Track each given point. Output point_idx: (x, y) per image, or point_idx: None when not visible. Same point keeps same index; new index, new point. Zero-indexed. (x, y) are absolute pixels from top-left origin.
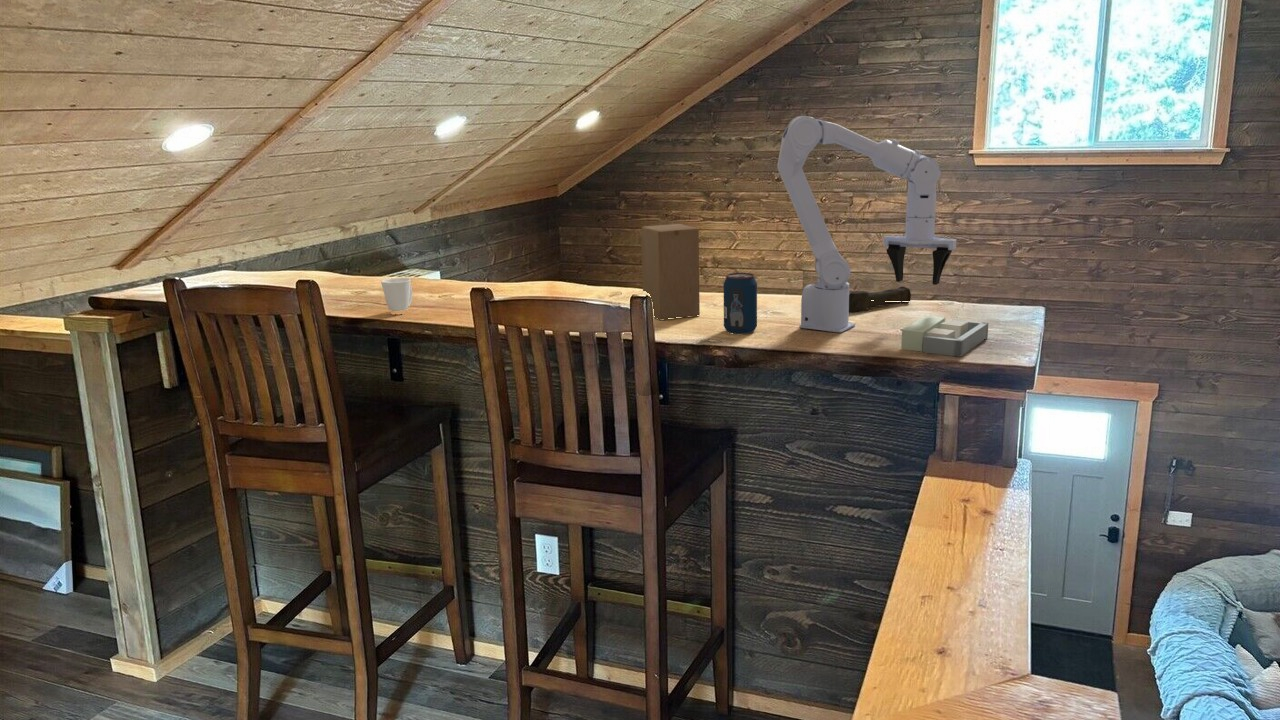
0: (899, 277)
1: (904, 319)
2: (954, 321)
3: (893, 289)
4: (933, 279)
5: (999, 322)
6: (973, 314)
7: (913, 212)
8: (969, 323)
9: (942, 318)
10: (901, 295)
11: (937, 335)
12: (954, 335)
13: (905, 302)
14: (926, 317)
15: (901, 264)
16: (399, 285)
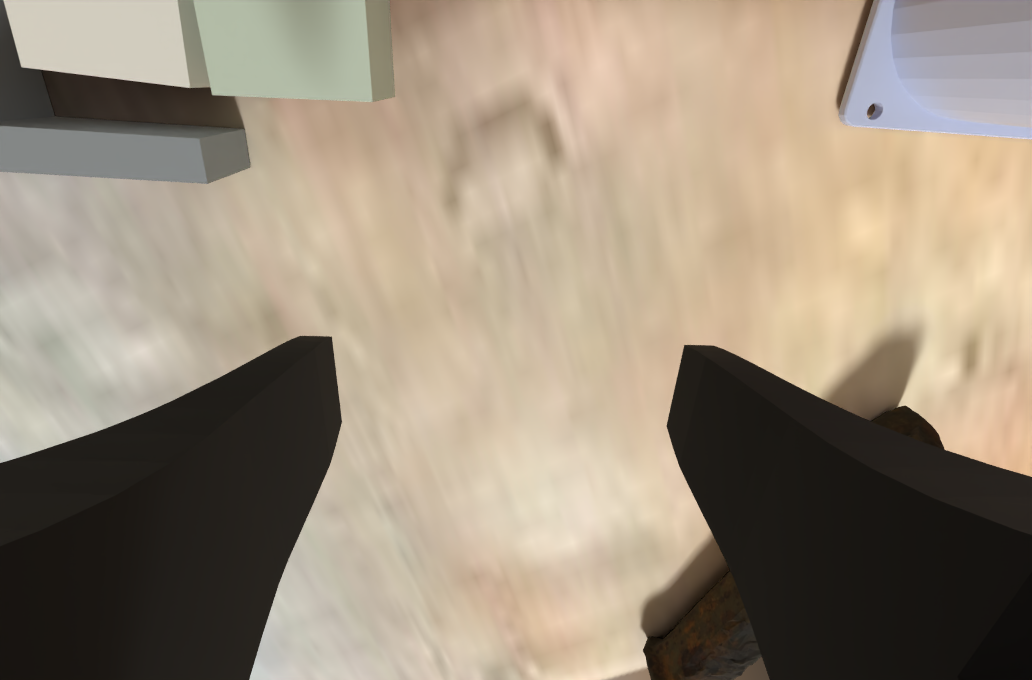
0: (700, 368)
1: (597, 387)
2: (118, 43)
3: (730, 669)
4: (299, 348)
5: None
6: (347, 576)
7: None
8: (62, 127)
9: (213, 52)
10: (684, 649)
11: None
12: None
13: (660, 638)
14: (338, 37)
15: (751, 527)
16: None
